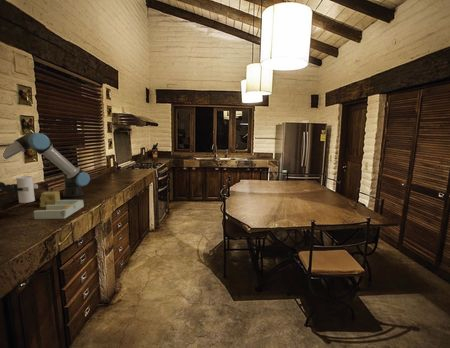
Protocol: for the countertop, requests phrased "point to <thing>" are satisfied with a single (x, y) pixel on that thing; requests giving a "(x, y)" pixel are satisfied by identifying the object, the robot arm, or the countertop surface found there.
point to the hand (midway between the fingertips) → (33, 187)
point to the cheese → (49, 198)
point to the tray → (59, 209)
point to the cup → (25, 195)
